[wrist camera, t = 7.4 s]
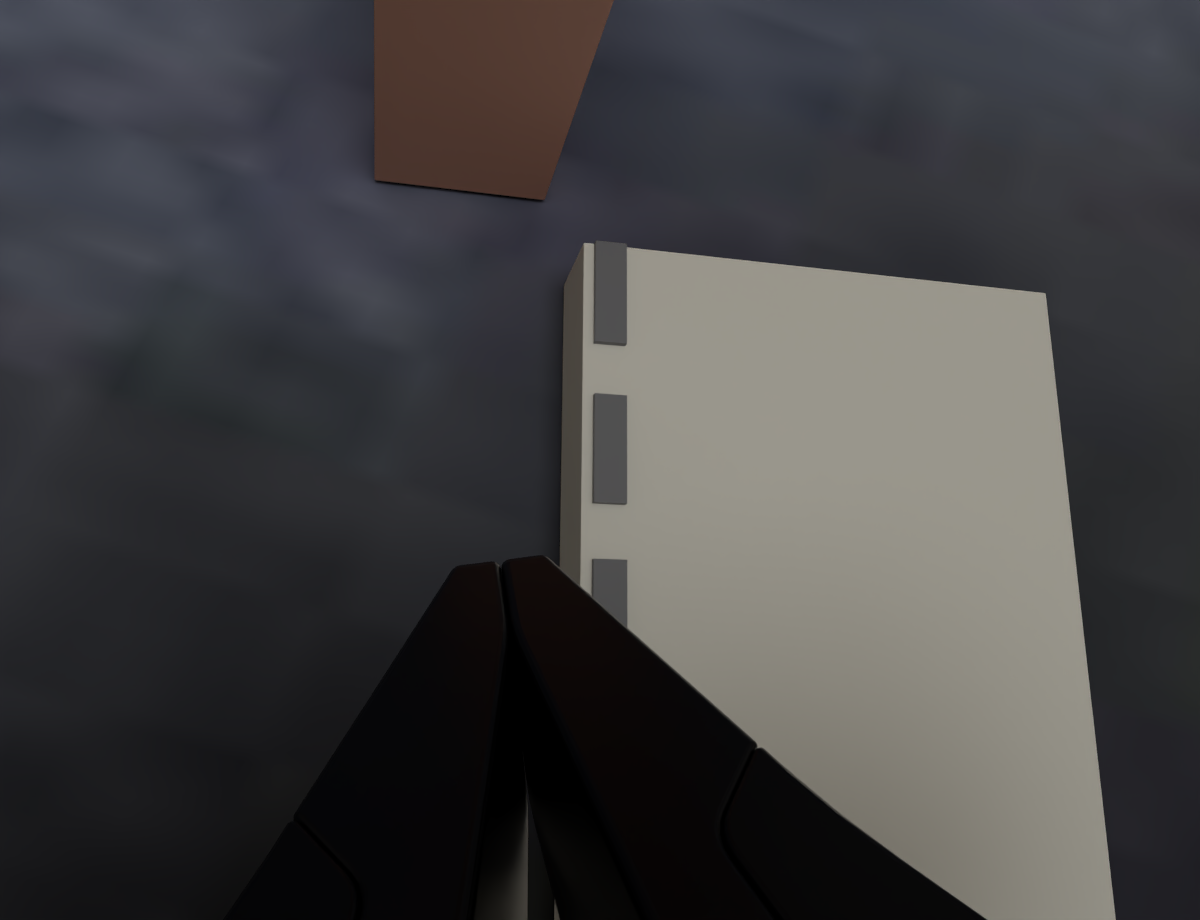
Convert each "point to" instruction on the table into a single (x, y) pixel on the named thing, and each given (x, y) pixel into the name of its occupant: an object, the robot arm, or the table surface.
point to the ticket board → (849, 547)
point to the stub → (479, 90)
